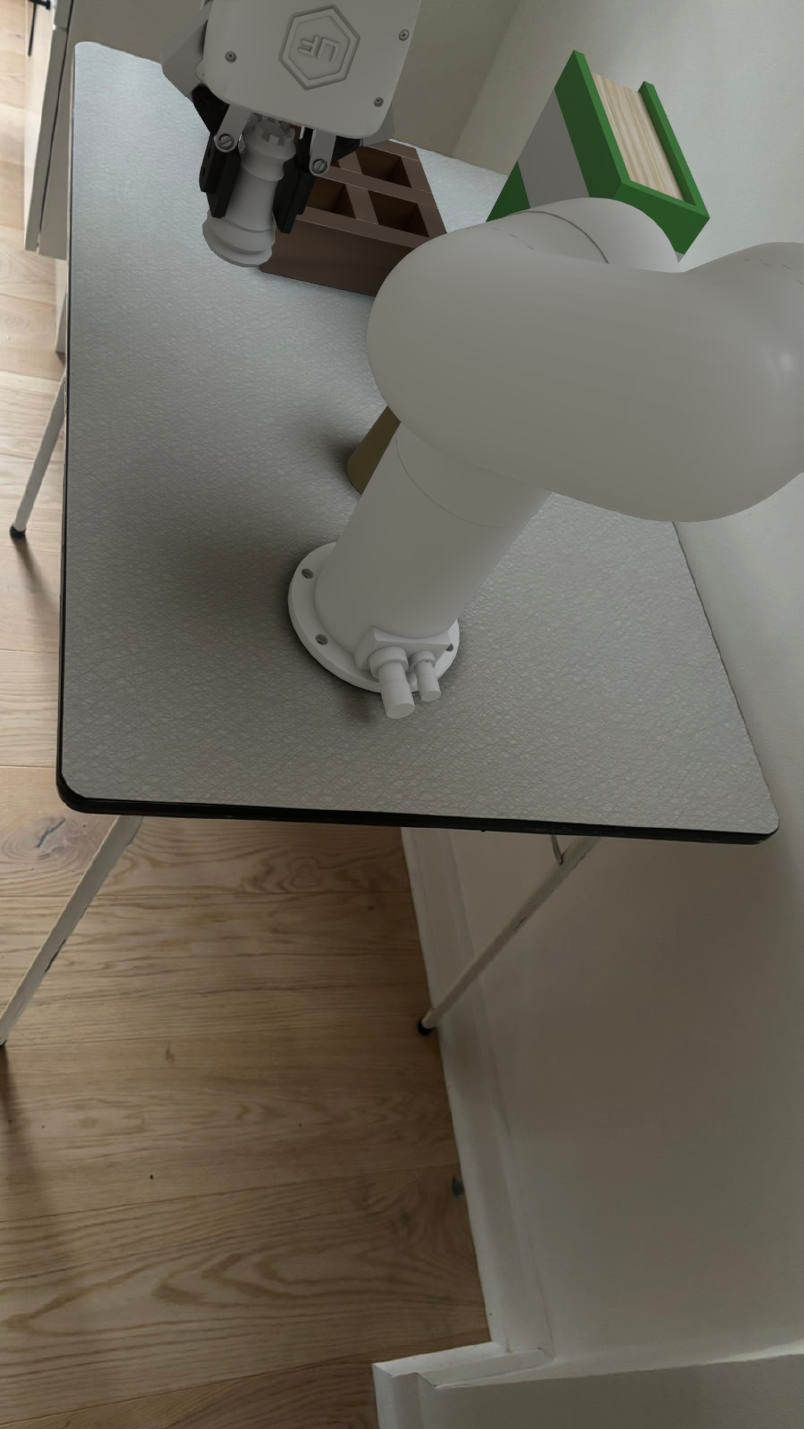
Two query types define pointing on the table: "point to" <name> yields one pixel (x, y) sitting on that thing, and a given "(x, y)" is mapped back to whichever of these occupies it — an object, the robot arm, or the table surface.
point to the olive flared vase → (371, 449)
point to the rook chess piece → (252, 195)
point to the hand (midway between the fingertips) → (247, 208)
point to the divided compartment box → (358, 219)
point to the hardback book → (606, 155)
